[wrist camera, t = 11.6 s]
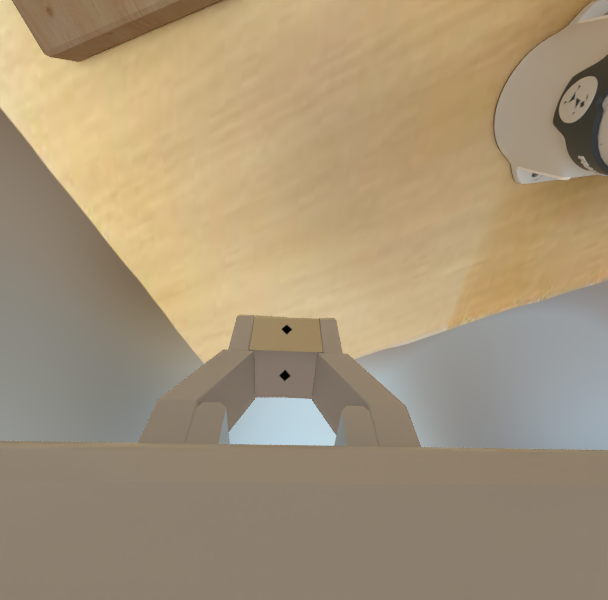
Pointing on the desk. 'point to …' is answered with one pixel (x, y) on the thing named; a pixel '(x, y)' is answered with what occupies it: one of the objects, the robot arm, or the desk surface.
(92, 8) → the decorative block
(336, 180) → the desk surface
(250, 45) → the desk surface
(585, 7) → the robot arm
